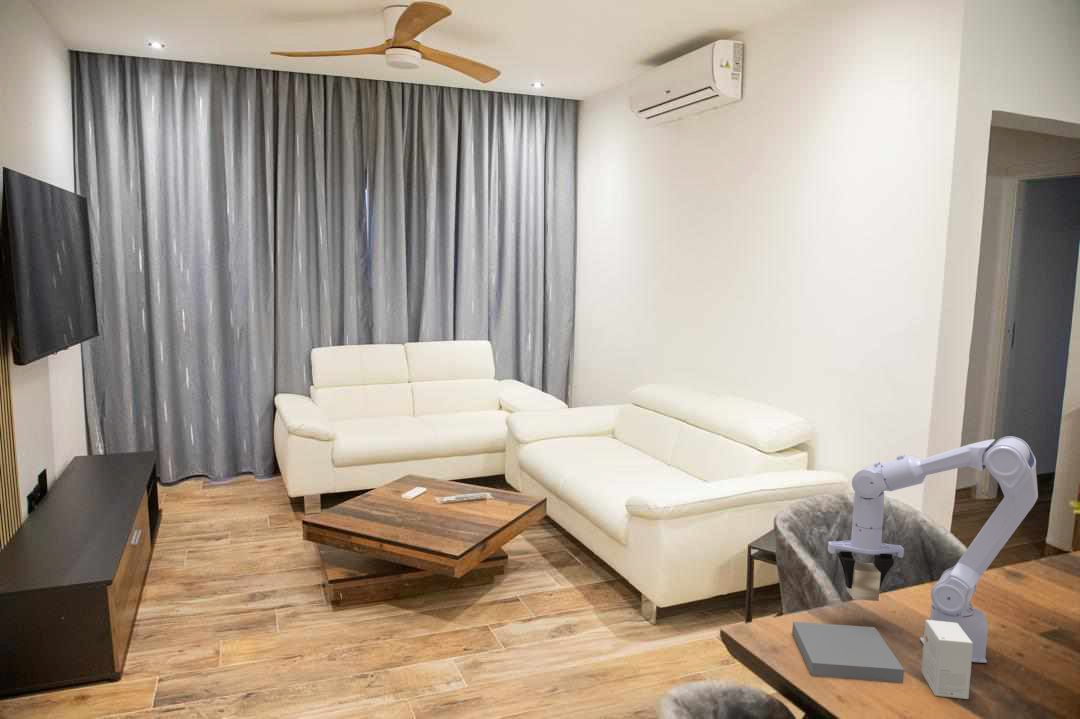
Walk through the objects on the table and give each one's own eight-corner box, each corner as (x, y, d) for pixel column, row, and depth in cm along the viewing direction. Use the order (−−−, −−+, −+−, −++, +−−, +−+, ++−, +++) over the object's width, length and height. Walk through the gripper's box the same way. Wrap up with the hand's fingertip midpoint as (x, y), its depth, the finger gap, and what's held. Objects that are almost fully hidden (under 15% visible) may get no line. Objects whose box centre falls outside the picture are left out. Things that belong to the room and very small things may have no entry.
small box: (968, 700, 130) (974, 643, 128) (933, 696, 131) (939, 639, 130) (953, 676, 138) (958, 621, 136) (920, 672, 139) (925, 618, 137)
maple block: (870, 590, 158) (872, 563, 157) (878, 601, 153) (880, 573, 152) (846, 589, 159) (848, 561, 158) (853, 599, 154) (855, 571, 153)
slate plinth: (873, 639, 151) (874, 627, 150) (903, 682, 135) (904, 669, 135) (792, 633, 152) (793, 621, 152) (811, 675, 137) (812, 662, 136)
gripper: (897, 519, 157) (892, 581, 159) (825, 516, 159) (821, 577, 160) (909, 531, 150) (904, 595, 152) (834, 527, 152) (830, 591, 153)
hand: (862, 587), depth 156 cm, fingers closed on maple block, 5 cm apart
